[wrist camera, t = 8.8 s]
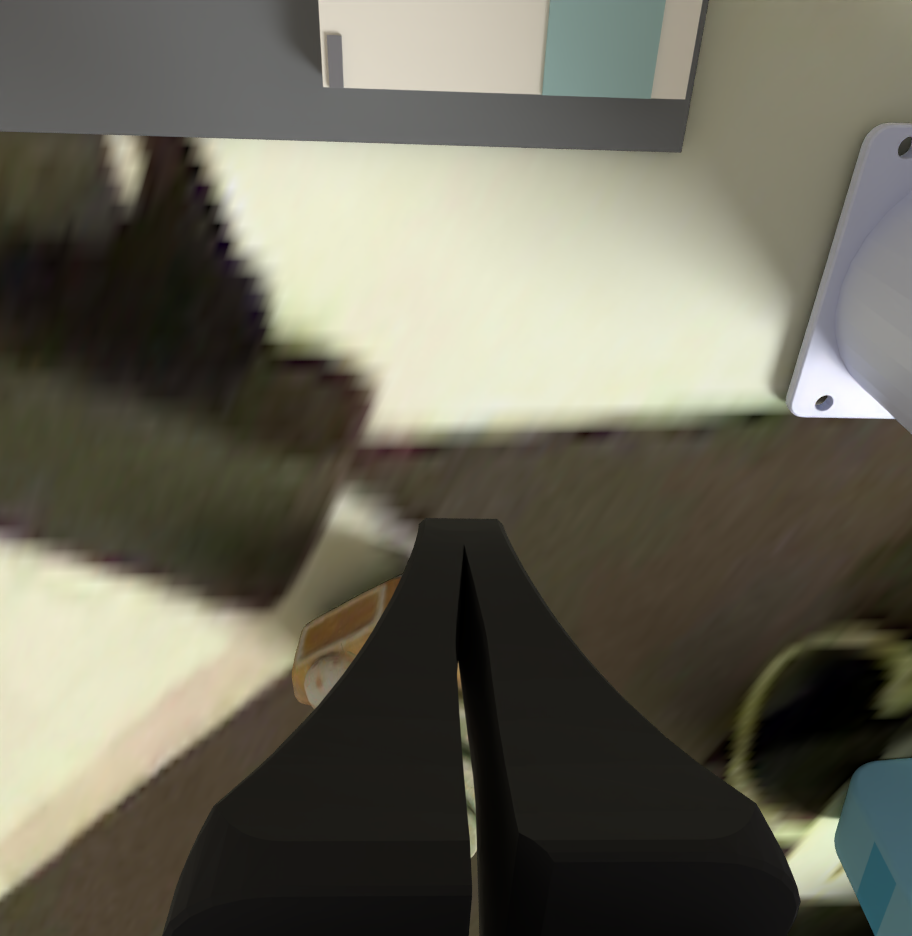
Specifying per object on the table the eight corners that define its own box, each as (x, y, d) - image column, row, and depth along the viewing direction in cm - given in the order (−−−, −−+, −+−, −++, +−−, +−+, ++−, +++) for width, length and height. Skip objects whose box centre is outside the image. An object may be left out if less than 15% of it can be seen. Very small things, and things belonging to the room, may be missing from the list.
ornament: (276, 625, 27) (206, 910, 19) (397, 533, 25) (378, 807, 17) (427, 729, 31) (424, 1011, 22) (545, 655, 29) (592, 936, 20)
